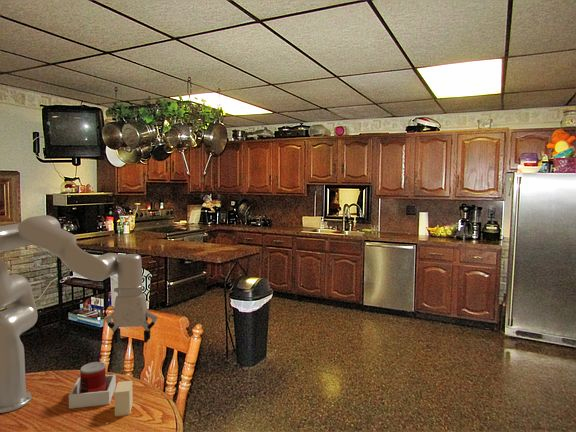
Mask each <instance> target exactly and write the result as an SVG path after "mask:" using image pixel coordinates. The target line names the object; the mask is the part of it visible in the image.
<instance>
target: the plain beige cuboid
mask: <svg viewBox="0 0 576 432" xmlns="http://www.w3.org/2000/svg"><path fill="white" fill-rule="evenodd" d="M113 396H114V397H113V398H114V417H121V416H130V415H131V411H132V407H133V404H134V400H133V398H134V397H133V396H134V395H133V380H125V381H118V382H117V384H116V387H115V390H114V393H113Z"/></svg>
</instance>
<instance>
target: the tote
mask: <svg viewBox="0 0 576 432" xmlns="http://www.w3.org/2000/svg"><path fill="white" fill-rule="evenodd" d="M116 378H117V376H116V374H108V375H106V391H99V392H89V393H81V377H78V378H77V380H76V382H75V384H74V386H73V387H72V389H71V390H70V393H69V394H68V409H78V408H80V409H81V408H87V407H88V408H89V407H96V406H97V407H98V406H107V405H110V403H111V401H112V398H113V396H114V392H115V389H116V387H117V384H116V383H117V382H116V381H117V379H116Z"/></svg>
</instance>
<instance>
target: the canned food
mask: <svg viewBox="0 0 576 432" xmlns="http://www.w3.org/2000/svg"><path fill="white" fill-rule="evenodd" d="M106 373H107V372H106V364H105V362H103V361H93V362H89V363H86V364H84V365H82V366H81V367H80V373H79V374H80V377H79V378H81V391H80V393H89V392H99V391H107V388H106Z"/></svg>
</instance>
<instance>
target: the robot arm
mask: <svg viewBox="0 0 576 432" xmlns="http://www.w3.org/2000/svg"><path fill="white" fill-rule="evenodd" d="M61 227H62V226H61V223H60V222H59V220H58V219H57V218H56V217H54V216H52V215H48V214H45V215H36V216H31V217H27V218H25V219H23V220H22V221H21V222H17V223H14V224H13V223H12V224H6V225H5V224H4V225H0V254H1V253H4V252H7V251H8V252H9V251H12V250H15V249H20V248H25V247H28V246H31V245H33V246H35V247H37V248H39V249H41V250H43V251H45V252H46V253H47V252H48V253H50V254H51V255H53V256H56V257H57V258H58V259H60V261H61V262H62V264H63V265H65V266H66V268H67V269H69V270H70V271H71V272H73V273H75V274H77V275H79V276H81V277H83V278H86V279H88V280H89V281H94V282H101V281H103V280H104V281H105V280H106V279H108V278H110V277H112V276H114V275H117V287H114V289H113V292H114V293H117V295H116V296H115V300H114V307H113V312H112V313H110V314H109V315H107V316H105V317H104V321H105V322H106V324H107V326H108V327H109V329H110V330H111V331H112V333H113V340H114V344H117V343H119V342H120V341H121V328H136V327H137V328H140V327H142V328H143V329H144V331H143V342H144V343H145V344H147V343H148V341H150V339H151V328H153V327H154V326H155V324H156V323H157V321H158V318H159V316H158V315H156V314H154V313H152V312H149V311H148V303H147V300H146V295H145V293H143V269H142V267H143V265H142V256H141V255H139V254H138V253H125V254H123V253H115V252H107V253H104V254H100V255H98V256H96V255H93V254H91V253H88V251H85V250H83V249H82V248H81V247H79V246H78V243H77V237H76V235H75V234H73V233H72V232H69V231H67V230H65V229H63V228H61ZM5 307H6V309H5V310H3V311H0V414H4V413H8V412H13V411H15V410H19V409H20V408H22V407H24V406H25V405H27V404H28V403H30V401H31V400H32V393H31V392H29V391H27V387H26V361H25V360H26V359H25V346H24V344H23V342H22V340H21V338H20V335H21V334H23V333H25V332H27V331H28V330H30V329H31V328H33V327H34V326H35V324H36V323H37V321H38V316H39V315H38V309H37V304H36V301H35V297H34V293H33V289H32V285H31V283H30V281H29V280H28V279H27V278H26V277H25V276H23V275H20V274H15V273H14V274H10V273H9V271H8V265H7V263H6V262H5V260H4V259H3V257H2V256H0V309H3V308H5ZM112 319H113V320H112ZM148 319H151V322H149V321H148Z"/></svg>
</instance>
